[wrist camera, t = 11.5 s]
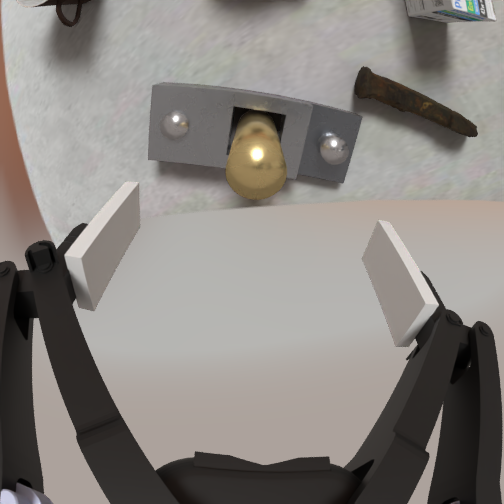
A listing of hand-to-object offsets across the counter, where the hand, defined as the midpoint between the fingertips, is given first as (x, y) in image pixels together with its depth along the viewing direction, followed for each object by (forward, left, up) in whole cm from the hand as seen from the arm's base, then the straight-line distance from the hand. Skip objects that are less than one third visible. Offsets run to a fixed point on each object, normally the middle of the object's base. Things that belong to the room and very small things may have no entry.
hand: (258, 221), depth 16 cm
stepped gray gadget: (0, 0, -23) cm, 23 cm away
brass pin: (0, 0, -23) cm, 23 cm away
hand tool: (-20, -9, -24) cm, 32 cm away
